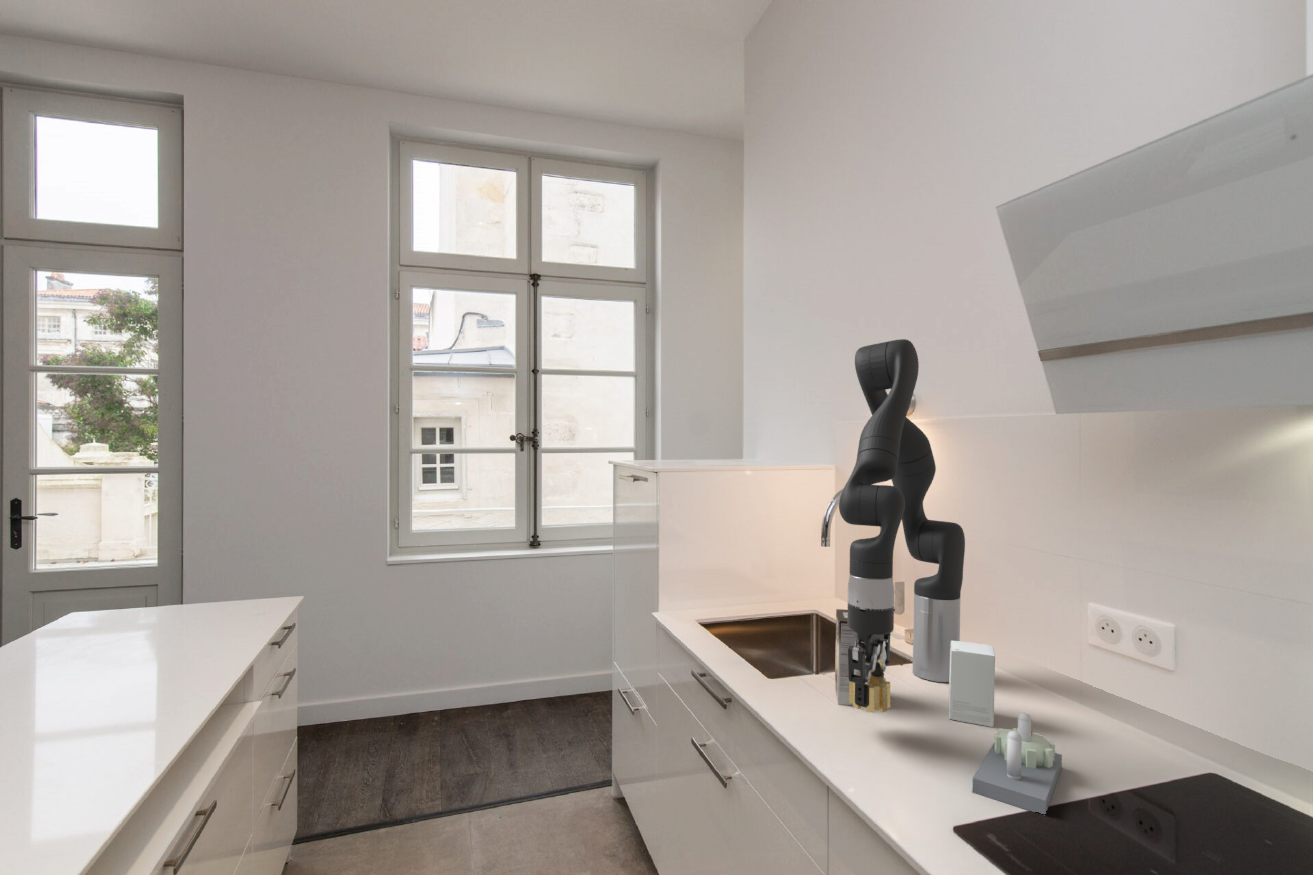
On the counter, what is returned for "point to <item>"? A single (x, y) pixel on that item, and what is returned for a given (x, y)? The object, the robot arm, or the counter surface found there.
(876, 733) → the counter surface
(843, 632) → the coffee box
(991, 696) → the supplement box
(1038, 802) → the gear board
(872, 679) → the brass gear
